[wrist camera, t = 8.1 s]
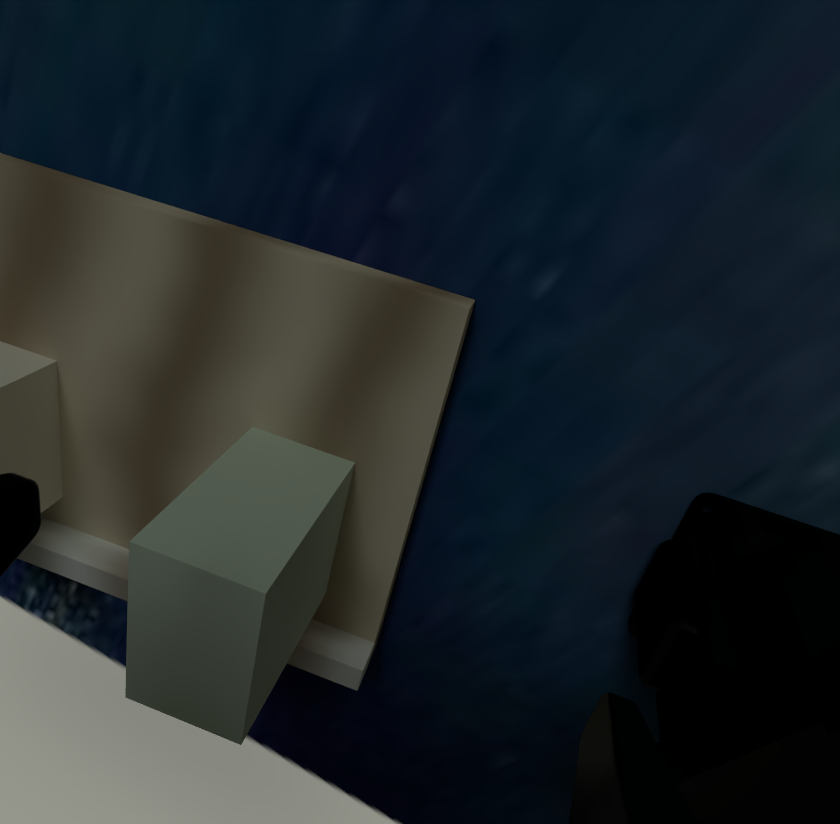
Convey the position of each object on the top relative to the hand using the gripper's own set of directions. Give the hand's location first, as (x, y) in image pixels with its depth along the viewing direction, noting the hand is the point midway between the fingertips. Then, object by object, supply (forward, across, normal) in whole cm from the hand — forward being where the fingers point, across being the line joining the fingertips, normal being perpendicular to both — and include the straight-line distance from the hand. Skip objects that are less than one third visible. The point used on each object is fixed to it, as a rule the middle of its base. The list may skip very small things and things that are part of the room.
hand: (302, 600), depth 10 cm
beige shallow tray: (+13, +10, +7) cm, 18 cm away
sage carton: (+12, +4, +9) cm, 16 cm away
